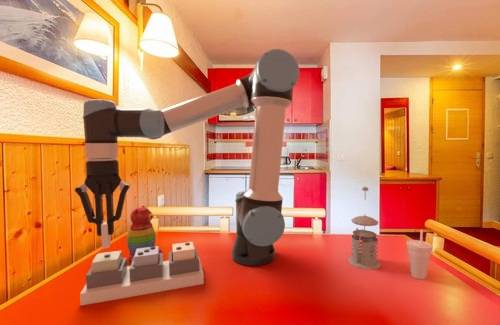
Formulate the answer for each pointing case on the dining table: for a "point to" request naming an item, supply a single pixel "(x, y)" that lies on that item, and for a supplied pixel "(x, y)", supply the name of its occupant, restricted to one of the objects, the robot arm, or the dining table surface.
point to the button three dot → (146, 256)
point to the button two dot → (183, 251)
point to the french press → (364, 243)
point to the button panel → (141, 279)
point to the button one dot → (107, 261)
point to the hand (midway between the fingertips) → (106, 246)
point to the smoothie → (419, 257)
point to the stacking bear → (140, 231)
